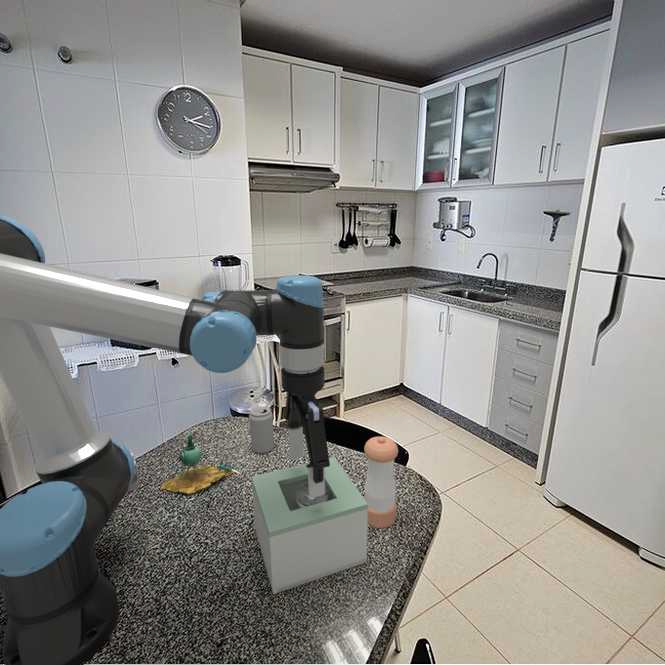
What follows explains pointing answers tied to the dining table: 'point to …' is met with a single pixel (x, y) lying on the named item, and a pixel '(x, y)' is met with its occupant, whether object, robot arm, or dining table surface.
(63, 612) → the robot arm
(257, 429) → the beverage can
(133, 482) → the pill bottle
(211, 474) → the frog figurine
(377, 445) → the pepper shaker
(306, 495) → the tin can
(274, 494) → the caddy
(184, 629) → the dining table surface
